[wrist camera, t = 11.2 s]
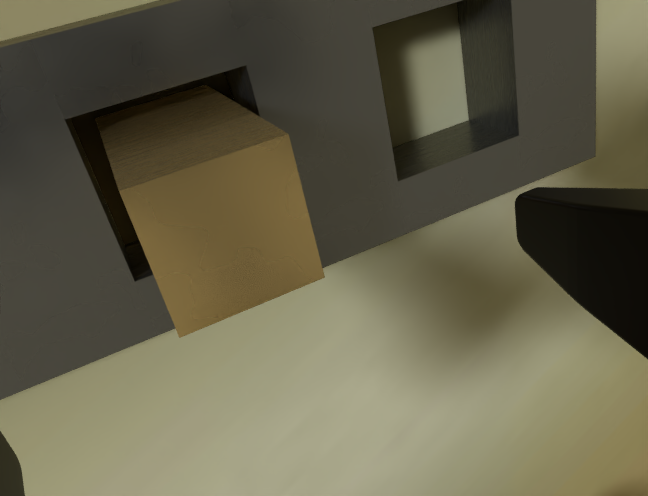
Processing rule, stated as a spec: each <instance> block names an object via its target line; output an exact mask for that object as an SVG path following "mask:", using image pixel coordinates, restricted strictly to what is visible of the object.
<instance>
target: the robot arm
mask: <svg viewBox="0 0 648 496" xmlns="http://www.w3.org/2000/svg"><path fill="white" fill-rule="evenodd" d="M515 214H516V230H517V239H518V242H519V244H520V246H521V247H522V249H523V250H524V251H525V252H526V253H527V254H528V255H529V256H530V257H531V258H532V259H533V260H534V261H535V262H536V263H537V264H538V265H539V266H540V267H541V268H542V269H543V270H544V271H545V272H546V273H547V274H548V275H549V276H550V277H551V278H552V279H553V280H555V281H556V282H557V283H558V284H559V285H560V286H561V287H562V288H563V289H564V290H565V291H566V292H567V293H568V294H569V295H570V296H571V297H572V298H573V299H574V300H575V301H576V302H577V303H579V304H580V305H581V306H582V307H583V308H584V309H586V310H587V311H588V312H589V313H591V314H592V315H593V316H594V317H596V318H597V319H598V320H599V321H601V322H602V323H603V324H604V325H606V326H607V327H608V328H609V329H611V330H612V331H613V332H614V333H616V334H617V335H618V336H619V337H621V338H622V339H623V340H624V341H626V342H627V343H628V344H629V345H631V346H632V347H633V348H634V349H636V350H637V351H638V352H639V353H641V354H642V355H643V356H644V357H646V358H647V359H648V189H617V188H549V187H538V188H534V189H532V190H529V191H527V192H524V193H522V194H520V195H519V196H518V197H517V198H516V201H515ZM0 496H25V494H24V486H23V478H22V470H21V466H20V463H19V460H18V458H17V456H16V454H15V453H14V451H13V450H12V448H11V447H10V445H9V443H8V442H7V440H6V439H5V437H4V436H3V434H2V433H1V431H0Z"/></svg>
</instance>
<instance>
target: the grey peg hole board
mask: <svg viewBox="0 0 648 496" xmlns="http://www.w3.org/2000/svg"><path fill="white" fill-rule="evenodd" d="M455 2H457V4H458V14H459V24H460V34H461V44H462V54H463V64H464V74H465V84H466V94H467V104H468V114H469V120H468V121H466V122H463V123H460V124H457V125H455V126H452V127H449V128H446V129H444V130H441V131H438V132H435V133H433V134H430V135H427V136H424V137H422V138H419V139H416V140H413V141H411V142H408V143H405V144H402V145H400V146H397V147H394V148H392V143H391V137H390V131H389V125H388V119H387V113H386V107H385V101H384V95H383V89H382V83H381V77H380V71H379V65H378V59H377V53H376V47H375V41H374V35H373V29H372V27H375V26H379V25H382V24H385V23H389V22H392V21H395V20H399V19H402V18H405V17H409V16H412V15H415V14H419V13H422V12H425V11H429V10H432V9H435V8H439V7H442V6H445V5H449V4H452V3H455ZM222 72H225V73H226V76H227V80H228V83H229V87H230V90H231V94H232V97H233V101H234V102H236V103H237V104H239V105H241V106H242V107H244V108H246V109H248V110H249V111H251V112H253V113H254V114H256V115H258V116H259V117H261V118H263V119H264V120H266V121H268V122H269V123H271V124H273V125H274V126H276V127H278V128H279V129H281V130H283V131H285V132H286V133H288V134H289V138H290V142H291V146H292V150H293V154H294V158H295V162H296V166H297V169H298V173H299V177H300V181H301V185H302V189H303V193H304V197H305V201H306V205H307V209H308V213H309V217H310V221H311V225H312V229H313V233H314V237H315V241H316V245H317V249H318V253H319V257H320V261H321V265H322V268H324V267H326V266H329V265H331V264H333V263H336V262H338V261H341V260H343V259H346V258H348V257H351V256H353V255H355V254H358V253H360V252H363V251H365V250H368V249H370V248H373V247H375V246H377V245H380V244H382V243H385V242H387V241H390V240H392V239H395V238H397V237H399V236H402V235H404V234H407V233H409V232H412V231H414V230H417V229H419V228H421V227H424V226H426V225H429V224H431V223H434V222H436V221H439V220H441V219H444V218H446V217H448V216H451V215H453V214H456V213H458V212H461V211H463V210H466V209H468V208H470V207H473V206H475V205H478V204H480V203H483V202H485V201H488V200H490V199H492V198H495V197H497V196H500V195H502V194H505V193H507V192H510V191H512V190H514V189H517V188H519V187H522V186H524V185H527V184H529V183H532V182H534V181H536V180H539V179H541V178H544V177H546V176H549V175H551V174H554V173H556V172H558V171H561V170H563V169H566V168H568V167H571V166H573V165H576V164H578V163H580V162H583V161H585V160H588V159H590V158H593V157H595V129H596V0H159V1H155V2H151V3H147V4H144V5H140V6H136V7H132V8H128V9H124V10H120V11H117V12H113V13H109V14H105V15H101V16H97V17H93V18H89V19H86V20H82V21H78V22H74V23H70V24H66V25H62V26H59V27H55V28H51V29H47V30H43V31H39V32H35V33H32V34H28V35H24V36H20V37H16V38H12V39H8V40H4V41H1V42H0V400H1V399H3V398H6V397H8V396H11V395H13V394H15V393H18V392H20V391H23V390H25V389H28V388H30V387H33V386H35V385H37V384H40V383H42V382H45V381H47V380H50V379H52V378H55V377H57V376H59V375H62V374H64V373H67V372H69V371H72V370H74V369H77V368H79V367H82V366H84V365H86V364H89V363H91V362H94V361H96V360H99V359H101V358H104V357H106V356H108V355H111V354H113V353H116V352H118V351H121V350H123V349H126V348H128V347H130V346H133V345H135V344H138V343H140V342H143V341H145V340H148V339H150V338H152V337H155V336H157V335H160V334H162V333H165V332H167V331H170V330H172V329H174V328H175V325H174V323H173V321H172V318H171V316H170V313H169V311H168V309H167V306H166V304H165V301H164V299H163V296H162V294H161V292H160V289H159V287H158V284H157V282H156V279H155V277H154V275H153V272H152V270H151V267H150V265H149V263H148V260H147V258H146V255H145V253H144V250H143V248H142V246H141V243H140V241H139V240H138V241H135V242H132V243H130V244H127V245H124V243H123V240H122V238H121V236H120V233H119V231H118V229H117V226H116V224H115V222H114V219H113V217H112V215H111V212H110V210H109V208H108V205H107V203H106V201H105V198H104V196H103V193H102V191H101V189H100V186H99V184H98V182H97V179H96V177H95V175H94V172H93V170H92V168H91V165H90V163H89V161H88V158H87V156H86V154H85V151H84V149H83V147H82V144H81V142H80V140H79V137H78V135H77V133H76V130H75V128H74V126H73V123H72V121H71V119H70V118H72V117H75V116H78V115H82V114H85V113H88V112H92V111H95V110H98V109H102V108H105V107H108V106H112V105H115V104H118V103H122V102H125V101H128V100H132V99H135V98H138V97H142V96H145V95H148V94H152V93H155V92H158V91H162V90H165V89H168V88H172V87H175V86H178V85H182V84H185V83H188V82H192V81H195V80H198V79H202V78H205V77H208V76H212V75H215V74H218V73H222Z"/></svg>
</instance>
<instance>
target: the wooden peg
mask: <svg viewBox="0 0 648 496" xmlns="http://www.w3.org/2000/svg"><path fill="white" fill-rule="evenodd" d="M95 119H96V123H97V126H98V129H99V132H100V135H101V138H102V141H103V144H104V147H105V150H106V153H107V156H108V159H109V162H110V165H111V168H112V171H113V174H114V177H115V180H116V183H117V187H118V190H119V192H120V195H121V197H122V200H123V202H124V204H125V207H126V209H127V212H128V214H129V217H130V219H131V221H132V224H133V226H134V229H135V231H136V234H137V236H138V238H139V241H140V243H141V246H142V248H143V250H144V253H145V255H146V258H147V260H148V263H149V265H150V267H151V270H152V272H153V275H154V277H155V279H156V282H157V284H158V287H159V289H160V292H161V294H162V296H163V299H164V301H165V304H166V306H167V309H168V311H169V313H170V316H171V318H172V321H173V323H174V325H175V328H176V330H177V333H178V335H179V338H180V337H182V336H185V335H187V334H190V333H192V332H195V331H197V330H199V329H202V328H204V327H207V326H209V325H211V324H214V323H216V322H219V321H221V320H223V319H226V318H228V317H231V316H233V315H235V314H238V313H240V312H243V311H245V310H248V309H250V308H252V307H255V306H257V305H260V304H262V303H264V302H267V301H269V300H272V299H274V298H276V297H279V296H281V295H284V294H286V293H288V292H291V291H293V290H296V289H298V288H301V287H303V286H305V285H308V284H310V283H313V282H315V281H317V280H320V279H322V278H325V276H324V273H323V269H322V265H321V261H320V257H319V253H318V249H317V245H316V241H315V237H314V233H313V229H312V225H311V221H310V217H309V213H308V209H307V205H306V201H305V197H304V193H303V189H302V185H301V181H300V177H299V173H298V169H297V166H296V162H295V158H294V154H293V150H292V146H291V142H290V138H289V134H288V133H286V132H285V131H283V130H281V129H279V128H278V127H276V126H274V125H273V124H271V123H269V122H268V121H266V120H264V119H263V118H261V117H259V116H258V115H256V114H254V113H253V112H251V111H249V110H248V109H246V108H244V107H242V106H241V105H239V104H237V103H236V102H234V101H232V100H231V99H229V98H227V97H226V96H224V95H222V94H221V93H219V92H217V91H216V90H214V89H212V88H211V87H209V86H207V85H203V86H199V87H196V88H193V89H189V90H186V91H183V92H180V93H176V94H173V95H170V96H166V97H163V98H160V99H157V100H153V101H150V102H147V103H143V104H140V105H137V106H134V107H130V108H127V109H124V110H120V111H117V112H114V113H111V114H107V115H104V116H101V117H97V118H95Z"/></svg>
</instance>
